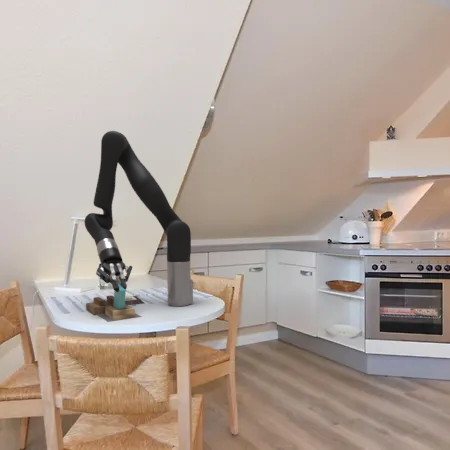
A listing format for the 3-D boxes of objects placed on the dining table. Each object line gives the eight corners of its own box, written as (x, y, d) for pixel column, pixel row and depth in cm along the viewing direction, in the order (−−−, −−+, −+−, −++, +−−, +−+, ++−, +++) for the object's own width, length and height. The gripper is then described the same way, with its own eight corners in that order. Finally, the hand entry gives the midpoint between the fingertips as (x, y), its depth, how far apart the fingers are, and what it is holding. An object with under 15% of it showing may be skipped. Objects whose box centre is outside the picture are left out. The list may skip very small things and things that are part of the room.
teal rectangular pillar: (118, 310, 156) (119, 284, 154) (123, 317, 151) (125, 290, 149) (113, 310, 155) (114, 284, 153) (118, 317, 150) (120, 290, 148)
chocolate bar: (122, 305, 170) (114, 297, 187) (122, 307, 170) (114, 299, 187) (145, 303, 174) (135, 295, 191) (145, 305, 174) (135, 297, 191)
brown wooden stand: (117, 307, 170) (117, 294, 170) (126, 311, 161) (126, 298, 161) (86, 311, 163) (85, 297, 163) (94, 316, 155) (93, 302, 155)
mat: (129, 311, 161) (129, 310, 161) (142, 317, 151) (142, 316, 151) (97, 316, 155) (97, 315, 155) (108, 323, 145) (108, 321, 145)
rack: (125, 312, 158) (125, 304, 158) (134, 317, 151) (134, 308, 151) (105, 315, 154) (105, 306, 154) (114, 320, 147) (113, 311, 147)
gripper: (92, 247, 155) (103, 285, 144) (129, 245, 162) (142, 281, 152) (88, 261, 159) (99, 299, 149) (124, 259, 166) (137, 294, 156)
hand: (121, 290), depth 150 cm, fingers closed on teal rectangular pillar, 2 cm apart
